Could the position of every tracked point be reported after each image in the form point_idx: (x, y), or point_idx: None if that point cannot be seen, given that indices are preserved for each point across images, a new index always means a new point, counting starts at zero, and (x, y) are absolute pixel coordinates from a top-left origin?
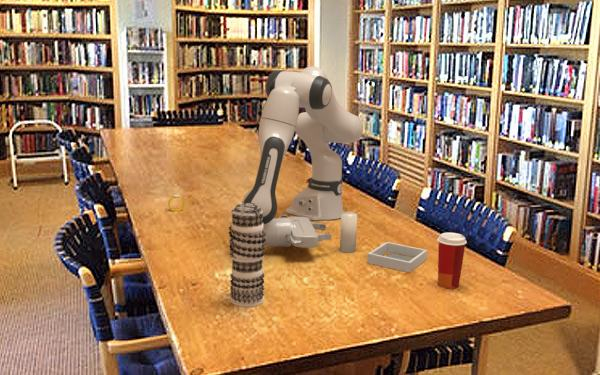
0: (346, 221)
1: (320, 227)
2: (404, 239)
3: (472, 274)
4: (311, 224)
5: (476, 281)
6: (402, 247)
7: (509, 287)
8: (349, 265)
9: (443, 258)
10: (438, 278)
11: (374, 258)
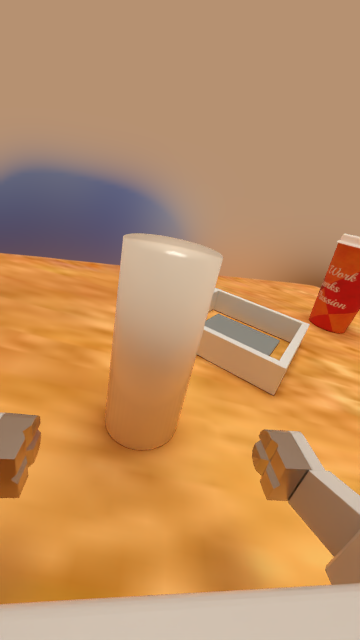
0: (212, 294)
1: (10, 477)
2: (76, 289)
3: (264, 296)
4: (51, 623)
5: (291, 302)
6: None
7: (295, 292)
8: (326, 455)
9: None
10: (342, 323)
11: (287, 367)
